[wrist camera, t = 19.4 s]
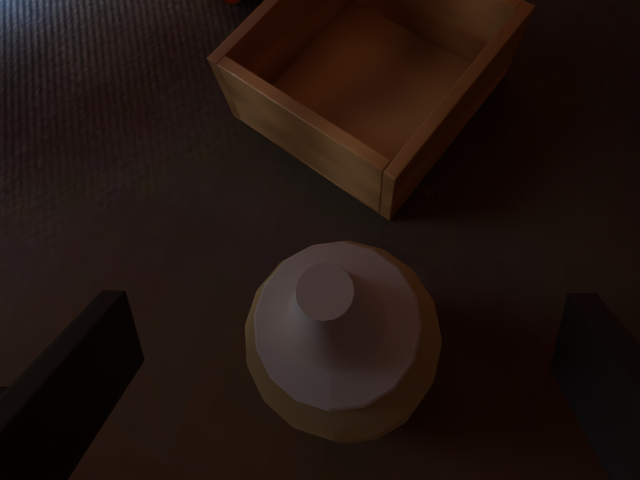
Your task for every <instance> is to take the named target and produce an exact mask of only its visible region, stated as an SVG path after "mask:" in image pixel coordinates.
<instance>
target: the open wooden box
mask: <svg viewBox="0 0 640 480" xmlns="http://www.w3.org/2000/svg"><path fill="white" fill-rule="evenodd" d="M534 8H535V6H534V5H532V4H530V3H528V2H526V1H523V2H522V0H264V1H263V2H262V3H261V4H260V5H259V6H258V7H257V8H256V9H255V10H254V11H253V12H252V13H251V14H250V15H249V16H248V17H247V18H246V19H245V20H244V21H243V22H242V23H241V24H240V25H239V26H238V27H237V28H236V29H235V30H234V31H233V32H232V33H231V34H230V35H229V36H228V37H227V38H226V39H225V40H224V41H223V42H222V43H221V44H220V45H219V46H218V47H217V48H216V49H215V50H214V51H213V52H212V53H211V54H210V55H209V56H208V57H207V59H208V61H209V64H210V66H211V68H212V70H213V72H214V74H215V76H216V79H217V81H218V83H219V85H220V87H221V89H222V91H223V94H224V96H225V98H226V100H227V102H228V104H229V106H230V109H231V111H232V113H233V115H234V116H235V117H237V118H238V119H240V120H241V121H243V122H244V123H246V124H247V125H248V126H250V127H251V128H253V129H254V130H256V131H257V132H259V133H260V134H262V135H263V136H265V137H266V138H268V139H269V140H271V141H272V142H274V143H275V144H277V145H278V146H280V147H281V148H282V149H284V150H285V151H287V152H288V153H290V154H291V155H293V156H294V157H296V158H297V159H299V160H300V161H302V162H303V163H305V164H306V165H308V166H309V167H311V168H312V169H313V170H315V171H316V172H318V173H319V174H321V175H322V176H324V177H325V178H327V179H328V180H330V181H331V182H333V183H334V184H336V185H337V186H339V187H340V188H342V189H343V190H344V191H346V192H347V193H349V194H350V195H352V196H353V197H355V198H356V199H358V200H359V201H361V202H362V203H364V204H365V205H367V206H368V207H370V208H371V209H373V210H374V211H375V212H377V213H378V214H380V215H381V216H383V217H384V218H386V219H387V220H389V221H390V220H391V219H392V217H393V216H394V215H395V214H396V212H397V211H398V210H399V209H400V207H401V206H402V205H403V204H404V202H405V201H406V200H407V198H408V197H409V196H410V195H411V193H412V192H413V191H414V190H415V188H416V187H417V186H418V185H419V183H420V182H421V181H422V179H423V178H424V177H425V176H426V174H427V173H428V172H429V171H430V169H431V168H432V167H433V166H434V164H435V163H436V162H437V161H438V159H439V158H440V157H441V155H442V154H443V153H444V152H445V150H446V149H447V148H448V147H449V145H450V144H451V143H452V142H453V140H454V139H455V138H456V136H457V135H458V134H459V133H460V131H461V130H462V129H463V128H464V126H465V125H466V124H467V123H468V121H469V120H470V119H471V118H472V116H473V115H474V114H475V112H476V111H477V110H478V109H479V107H480V106H481V105H482V104H483V102H484V101H485V100H486V99H487V97H488V96H489V95H490V93H491V92H492V91H493V90H494V88H495V87H496V86H497V85H498V83H499V82H500V81H501V80H502V78H503V77H504V76H505V75H506V73H507V70H508V67H509V65H510V63H511V61H512V58H513V56H514V54H515V51H516V49H517V47H518V45H519V42H520V40H521V38H522V35H523V33H524V31H525V29H526V26H527V24H528V22H529V19H530V17H531V15H532V13H533V10H534Z"/></svg>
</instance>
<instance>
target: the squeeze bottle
mask: <svg viewBox="0 0 640 480" xmlns="http://www.w3.org/2000/svg"><path fill="white" fill-rule="evenodd" d="M245 339H246V359H247V366H248V368H249V371H250V373H251V375H252V377H253V379H254V381H255V383H256V386H257V388H258V390H259V392H260V394H261V396H262V398H263V401H264V402H265V403H267V404H268V405H269V406H270V407H271V408H272V409H273V410H274V411H275V412H277V413H278V414H279V415H280V416H281V417H282V418H283V419H284V420H285V421H287V422H288V423H289V424H290V425H291V426H292V427H293V428H295V429H298V430H301V431H304V432H307V433H310V434H313V435H316V436H319V437H323V438H326V439H329V440H332V441H335V442H339V443H343V444H344V443H353V442H362V441H371V440H378V439H379V438H381V437H383V436H384V435H386V434H388V433H389V432H391V431H393V430H394V429H396V428H398V427H399V426H401V425H403V424H404V423H406V422H407V420H408V419H409V417H410V416H411V415H412V413H413V412H414V410H415V409H416V407H417V406H418V405H419V403H420V402H421V400H422V399H423V397H424V396H425V394H426V393H427V391H428V390H429V388H430V387H431V385H432V383H433V382H434V378H435V373H436V369H437V364H438V359H439V354H440V349H441V344H442V339H441V334H440V328H439V323H438V318H437V313H436V308H435V303H434V301H433V300H432V298H431V297H430V295H429V294H428V292H427V290H426V289H425V287H424V286H423V284H422V283H421V281H420V280H419V278H418V277H417V275H416V274H415V272H414V271H413V270H412V269H411V268H409V267H408V266H406V265H405V264H404V263H402V262H401V261H399V260H398V259H396V258H395V257H394V256H392V255H391V254H389V253H388V252H387V251H385V250H384V249H381V248H377V247H373V246H369V245H365V244H360V243H356V242H352V241H348V240H347V241H339V242H332V243H324V244H317V245H311V246H310V247H308V248H306V249H304V250H302V251H300V252H299V253H297V254H295V255H293V256H291V257H290V258H288V259H286V260H284V261H282V262H280V264H279V265H278V266H277V267H276V268H275V270H274V271H273V272H272V273H271V274H270V276H269V277H268V278H267V279H266V280H265V281H264V283H263V284H262V285H261V286H260V287H259V289H258V290H257V292H256V295H255V298H254V301H253V304H252V306H251V309H250V312H249V315H248V318H247V321H246V324H245Z"/></svg>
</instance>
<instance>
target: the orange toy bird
mask: <svg viewBox="0 0 640 480" xmlns="http://www.w3.org/2000/svg"><path fill="white" fill-rule="evenodd" d="M223 1H225V2H226V3H229V4H236V3H238V2H239V1H242V0H223Z"/></svg>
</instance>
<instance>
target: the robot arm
mask: <svg viewBox="0 0 640 480" xmlns="http://www.w3.org/2000/svg"><path fill="white" fill-rule="evenodd" d="M143 362H144V356H143V352H142V349H141V345H140V342H139V338H138V334H137V331H136V327H135V324H134V320H133V316H132V313H131V309H130V305H129V302H128V298H127V295H126V291H109V290H102V291H101V292H100V293H99V294H98V295H97V296H96V297H95V298H94V299H93V300H92V301H91V302H90V303H89V305H88V306H87V307H86V308H85V309H84V310H83V311H82V312H81V313H80V314H79V315H78V316H77V317H76V318H75V319H74V320H73V321H72V322H71V323H70V324H69V325H68V326H67V327H66V328H65V329H64V330H63V331H62V333H61V334H60V335H59V336H58V337H57V338H56V339H55V340H54V341H53V342H52V343H51V344H50V345H49V346H48V347H47V348H46V349H45V350H44V351H43V352H42V353H41V354H40V355H39V356H38V357H37V358H36V359H35V361H34V362H33V363H32V364H31V365H30V366H29V367H28V368H27V369H26V370H25V371H24V372H23V373H22V374H21V375H20V376H19V377H18V378H17V379H16V380H15V381H14V382H13V383H12V384H11V385H10V386H9V387H0V480H68V478H69V477H70V475H71V474H72V472H73V471H74V469H75V468H76V466H77V464H78V463H79V461H80V460H81V458H82V457H83V455H84V454H85V452H86V450H87V449H88V447H89V446H90V444H91V443H92V441H93V440H94V438H95V436H96V435H97V433H98V432H99V430H100V429H101V427H102V426H103V424H104V422H105V421H106V419H107V418H108V416H109V415H110V413H111V411H112V410H113V408H114V407H115V405H116V404H117V402H118V401H119V399H120V397H121V396H122V394H123V393H124V391H125V390H126V388H127V387H128V385H129V383H130V382H131V380H132V379H133V377H134V376H135V374H136V373H137V371H138V369H139V368H140V366H141V365H142V363H143ZM550 369H551V371H552V373H553V375H554V377H555V378H556V380H557V382H558V384H559V386H560V388H561V390H562V391H563V393H564V395H565V397H566V399H567V401H568V403H569V404H570V406H571V408H572V410H573V412H574V414H575V416H576V417H577V419H578V421H579V423H580V425H581V427H582V429H583V430H584V432H585V434H586V436H587V438H588V440H589V441H590V443H591V445H592V447H593V449H594V451H595V453H596V454H597V456H598V458H599V460H600V462H601V464H602V466H603V467H604V469H605V471H606V473H607V475H608V477H609V479H610V480H640V344H639V343H638V342H637V341H636V340H635V339H634V337H633V336H632V335H631V334H630V333H629V332H628V330H627V329H626V328H625V327H624V326H623V324H622V323H621V322H620V321H619V320H618V319H617V317H616V316H615V315H614V314H613V313H612V312H611V310H610V309H609V308H608V307H607V306H606V305H605V303H604V302H603V301H602V300H601V299H600V298H599V296H598V295H597V294H594V293H567V298H566V302H565V306H564V311H563V315H562V320H561V324H560V328H559V333H558V337H557V342H556V346H555V350H554V355H553V359H552V364H551V368H550Z"/></svg>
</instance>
